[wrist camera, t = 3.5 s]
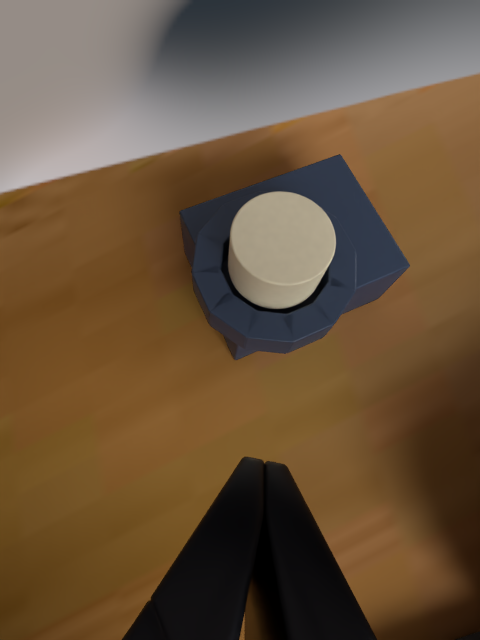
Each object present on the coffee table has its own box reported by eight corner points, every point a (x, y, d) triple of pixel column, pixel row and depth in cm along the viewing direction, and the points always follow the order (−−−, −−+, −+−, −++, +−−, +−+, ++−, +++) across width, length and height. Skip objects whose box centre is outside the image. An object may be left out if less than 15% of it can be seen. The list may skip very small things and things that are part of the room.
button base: (229, 393, 22) (235, 367, 17) (168, 257, 25) (155, 194, 19) (392, 320, 24) (447, 275, 18) (321, 200, 26) (350, 127, 21)
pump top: (252, 324, 18) (258, 301, 15) (212, 244, 19) (212, 210, 16) (337, 288, 18) (355, 261, 16) (294, 213, 19) (306, 177, 17)
